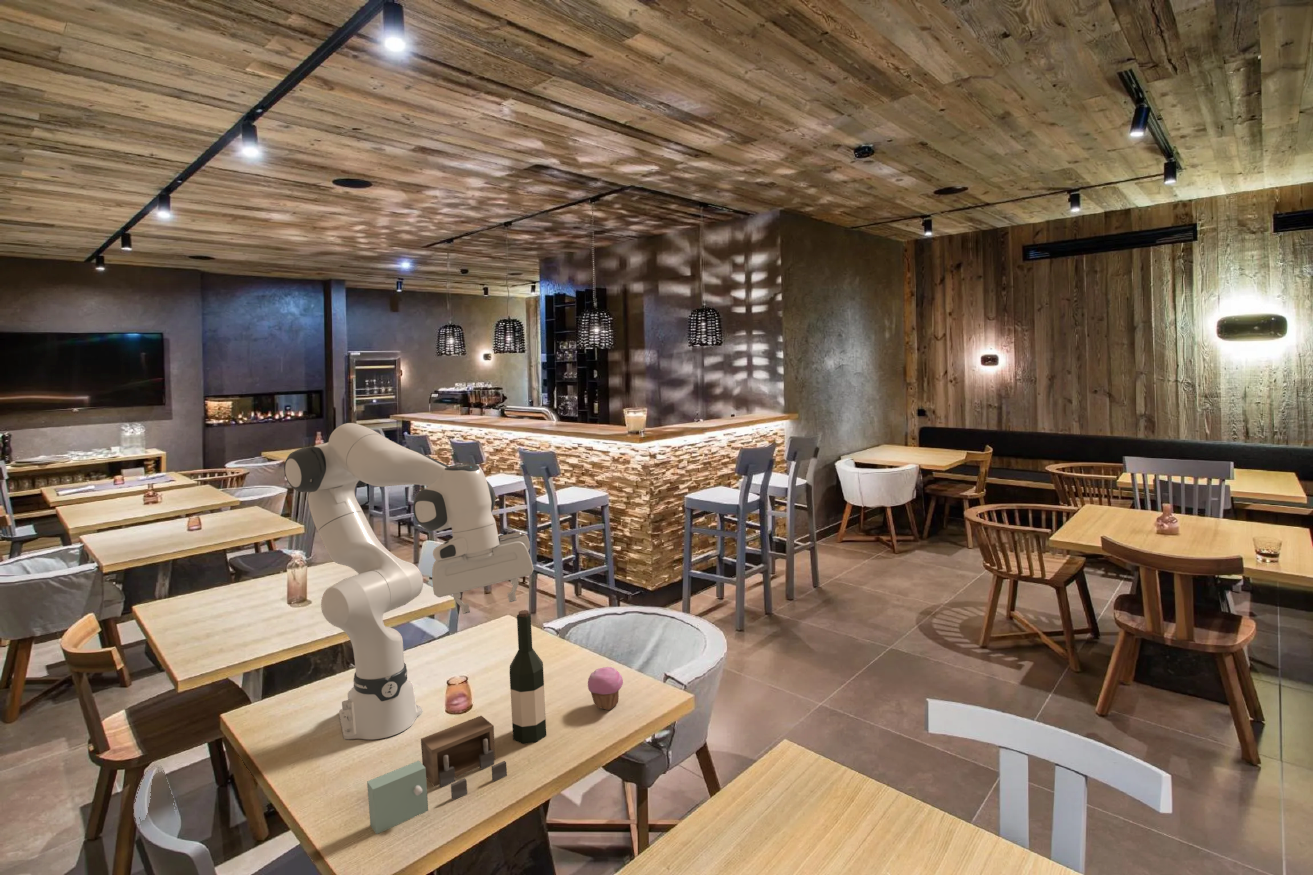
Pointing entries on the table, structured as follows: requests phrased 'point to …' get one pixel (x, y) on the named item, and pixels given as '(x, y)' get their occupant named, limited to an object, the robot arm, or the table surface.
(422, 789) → the door
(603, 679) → the cupcake
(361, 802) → the table surface
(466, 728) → the cabinet
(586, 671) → the table surface
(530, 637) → the wine bottle
